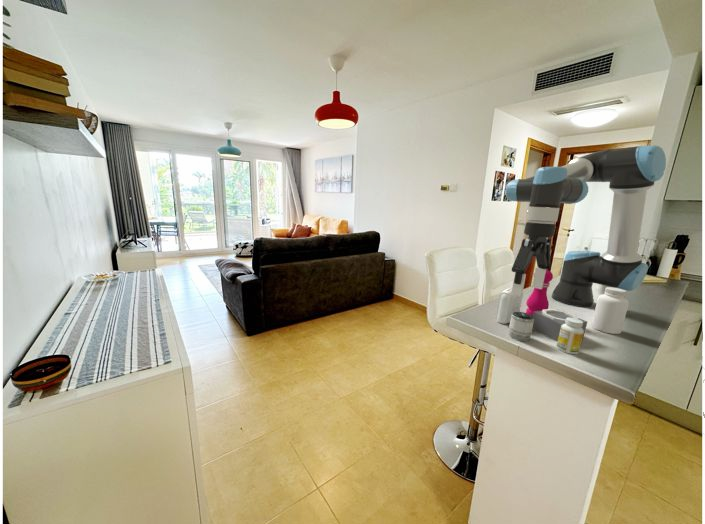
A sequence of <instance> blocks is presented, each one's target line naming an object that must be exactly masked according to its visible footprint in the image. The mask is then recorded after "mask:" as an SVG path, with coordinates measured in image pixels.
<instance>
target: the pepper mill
mask: <svg viewBox="0 0 705 524" xmlns="http://www.w3.org/2000/svg"><path fill="white" fill-rule="evenodd" d="M534 274H535V272H533V275H534ZM553 277H554V276H553V272H552V271H551V270H550V269H546V273H545V278H544V282H543V287H542V289H538V288H534V287H533V291H532V292H531V294H530V295H529V296H528V298H527V300H526V306H527V307H528V308H526V311H525V313H527V314H529V315H531V316H532V317H533V312H534V311H542V310H543V309H549V298H548V294H547V293H548V288H550V282H551V281H552V280H553Z"/></svg>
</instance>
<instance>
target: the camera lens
mask: <svg viewBox="0 0 705 524" xmlns="http://www.w3.org/2000/svg"><path fill="white" fill-rule="evenodd" d="M533 323H534V318H533V317H532V316H531V315H529V314H527V313H526V312H524V311H520V312H514V313H512V315H511V320H510V323H509V327H508V335H510V336H511V337H510V336H509V337H510V338H512V339H514V340H516V339H517V340H516V341H520V342H528V341H530V338H531V336H532V332H533V329H532V328H533Z"/></svg>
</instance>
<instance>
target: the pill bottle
mask: <svg viewBox="0 0 705 524" xmlns="http://www.w3.org/2000/svg"><path fill="white" fill-rule="evenodd" d="M626 295H627V290H623V289H619V288H613V287H608V286H605V289H604V292H603V293H602V294H600V295H599V296H598V298H597V300H596V306H595V309H594V313H593V318H592V321H591V326H592V328H593V329H595V330H597V331H600V332H601V333H602V332H603V333H607V334H610V335H611V334H612V335H620V334H621V333H622V330H623V327H624V323H625V321H626V320H625V319H626V315H627V311H628V308H629V300H628V299H626V298H625V297H626Z"/></svg>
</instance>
